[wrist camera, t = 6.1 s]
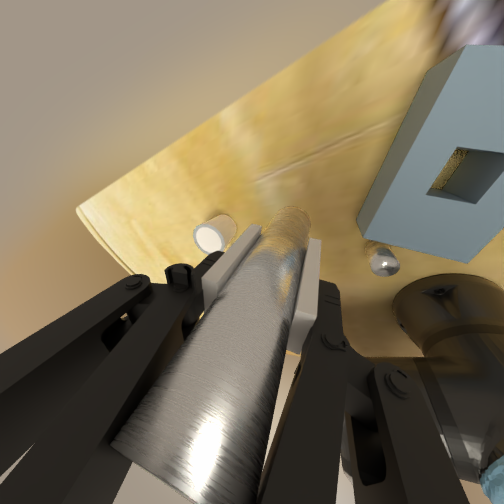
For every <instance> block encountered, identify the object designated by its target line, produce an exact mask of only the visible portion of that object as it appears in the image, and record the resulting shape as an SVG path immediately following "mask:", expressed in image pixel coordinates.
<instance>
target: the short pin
mask: <svg viewBox="0 0 504 504" xmlns="http://www.w3.org/2000/svg"><path fill="white" fill-rule="evenodd" d="M364 249H365V252H366V255H367V258H368V261H369V264H370V267H371V270H372V272H373V273H374V274H376V275H378V276H382V277H387V276H391V275H394V274H395V273H397V272H398V270H399V269H400V263H399V261H398V260H397V258H396V256H395V255H394V253H393V251H392V250H391V248H390V246H389V245H388V244H386V243H382V242H378V241H374V240H370V241H369V242H367V243H366V245H365V248H364Z"/></svg>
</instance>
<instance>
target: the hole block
mask: <svg viewBox="0 0 504 504" xmlns="http://www.w3.org/2000/svg"><path fill="white" fill-rule="evenodd" d="M455 149H459V150H467V151H469V152H468V153H467V155H466V156H465V157H464V159H463V160H462V162H461V163H460V165H459V166H458V167H457V169H456V170H455V172H454V173H453V175H452V176H451V177H450V179H449V180H448V182H447V183H446V185H445V186H444V187H443V189H442V190H441V189H435V188H430V187H431V186H432V184H433V183H434V181H435V180H436V178H437V177H438V175H439V174H440V172H441V170H442V169H443V167H444V166H445V164H446V163H447V161H448V160H449V158H450V157H451V155H452V154H453V152H454V151H455ZM356 221H357V224H358V226H359V229H360V232H361V234H362V237H363V238H365V239H369V240H374V241H378V242H382V243H386V244H390V245H394V246H398V247H402V248H406V249H410V250H414V251H418V252H422V253H426V254H430V255H434V256H438V257H442V258H446V259H451V260H455V261H459V262H463V263H467V264H468V263H469V262H470V261H471V260H472V259H473V258H474V257H475V256H476V255H477V254H478V253H479V252H480V251H481V250H482V249H483V248H484V247H485V246H486V245H487V244H488V243H489V242H490V241H491V240H492V239H493V238H494V237H495V236H496V235H497V234H498V233H499V232H500V231H501V230H502V229H503V228H504V46H493V45H465V46H464V47H462V48H461V49H459V50H458V51H456V52H455V53H453V54H452V55H450V56H449V57H448V58H446V59H445V60H443V61H442V62H440V63H439V64H437V65H436V66H434V67H433V68H431V69H430V70H428V71H427V73H426V75H425V77H424V79H423V81H422V83H421V85H420V87H419V90H418V92H417V94H416V96H415V98H414V100H413V102H412V104H411V106H410V108H409V110H408V112H407V114H406V117H405V119H404V121H403V123H402V125H401V127H400V129H399V131H398V133H397V135H396V137H395V139H394V142H393V144H392V146H391V148H390V150H389V152H388V154H387V156H386V158H385V160H384V162H383V164H382V167H381V169H380V171H379V173H378V175H377V177H376V179H375V181H374V183H373V185H372V187H371V189H370V192H369V194H368V196H367V198H366V200H365V202H364V204H363V206H362V208H361V210H360V212H359V214H358V217H357V219H356Z"/></svg>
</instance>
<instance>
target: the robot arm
mask: <svg viewBox="0 0 504 504" xmlns="http://www.w3.org/2000/svg"><path fill="white" fill-rule="evenodd" d="M261 228H262V226H260V225H255V224H251V225H250V226H249V227H248V228H247V229H246V231H245V232H244V233H243V234H242V235H241V236H240V237H239V238H238V239H237V240H236V241H235V242H234V243H233V244H232V246H231V247H230V248H229V249H228V250H227V251H226V252H221V251H218V250H217V251H215V252H213V253H210V254H209V255H208V256H207V257H206V258H205V259H204V260H203V261H202V262H201V263H200V264H199V265H198V266H196V267H195V268H193V267H192V266H191V265H188V264H182V263H180V264H174V265H171V266H169V267H168V268H166V269H165V275H166V279H167V284H158V283H151V282H150V278H149V277H148V276H147V275H143V274H135V275H131V276H129V277H126V278H124V279H122V280H120V281H119V282H117V283H116V284H114V285H112V286H111V287H109V288H107V289H106V290H104V291H102V292H101V293H99V294H98V295H96V296H94V297H93V298H91V299H90V300H88V301H86V302H84V303H83V304H81V305H80V306H78V307H77V308H75V309H73V310H72V311H70V312H68V313H67V314H65V315H63V316H62V317H60V318H58V319H57V320H55V321H54V322H52V323H50V324H49V325H47V326H45V327H44V328H42V329H40V330H39V331H37V332H36V333H34V334H32V335H31V336H29V337H27V338H26V339H24V340H22V341H21V342H19V343H18V344H16V345H14V346H13V347H11V348H9V349H8V350H6V351H4V352H3V353H1V354H0V476H1V475H2V474H3V473H4V472H5V471H6V470H8V468H10V467H11V465H13V464H14V463H15V462H16V460H18V459H19V458H20V457H21V456H22V455H23V454H24V453H25V452H26V451H27V450H28V449H29V448H30V447H31V446H32V445H33V444H34V443H35V444H34V445H33V446H32V447H31V449H30V450H29V451H28V452H27V453H26V454H25V456H24V457H23V458H22V459H21V460H20V462H19V463H18V464H17V465H16V467H15V468H14V469H13V470H12V471H11V472H10V474H9V475H8V476H7V477H6V479H5V480H4V481H3V482H2V483H1V484H0V504H112V503H113V501H114V499H115V497H116V495H117V493H118V491H119V489H120V487H121V485H122V483H123V481H124V479H125V477H126V474H127V472H128V470H129V468H130V466H131V464H132V461H131V460H129V459H128V458H127V457H125V456H124V455H122V454H121V453H120V452H118V451H117V450H116V449H114V448H113V447H112V446H110V444H111V442H112V441H113V440H114V438H115V437H116V435H117V434H118V433H119V431H120V430H121V428H122V427H123V426H124V424H125V423H126V422H127V420H128V419H129V417H130V416H131V415H132V413H133V412H134V410H135V409H136V408H137V406H138V405H139V403H140V402H141V401H142V399H143V398H144V397H145V395H146V394H147V392H148V391H149V390H150V388H151V387H152V385H153V384H154V383H155V381H156V380H157V378H158V377H159V376H160V374H161V373H162V372H163V370H164V369H165V367H166V366H167V365H168V363H169V362H170V360H171V359H172V358H173V356H174V355H175V353H176V352H177V351H178V349H179V348H180V347H181V345H182V344H183V342H184V341H185V340H186V338H187V337H188V335H189V334H190V333H191V331H192V330H193V329H194V327H195V326H196V324H197V323H198V322H199V320H200V319H199V317H200V315H201V314H202V312H203V311H204V313H205V312H206V310H207V309H208V308H209V306H210V305H211V304H212V302H213V301H214V299H215V298H216V297H217V295H218V294H219V292H220V291H221V290H222V288H223V287H224V285H225V284H226V283H227V281H228V280H229V279H230V277H231V276H232V274H233V273H234V272H235V270H236V269H237V267H238V266H239V265H240V263H241V262H242V260H243V259H244V258H245V256H246V255H247V254H248V252H249V251H250V249H251V248H252V247H253V245H254V244H255V242H256V241H257V240H258V238H259V237H260V235H261ZM320 255H321V240H318V239H314V238H310V239H309V242H308V245H307V249H306V252H305V257H304V262H303V267H302V272H301V278H300V283H299V288H298V293H297V298H296V303H295V308H294V313H293V318H292V323H291V328H290V333H289V338H288V344H287V349H286V350H289V351H291V352H294V353H296V354H300V352H301V360H300V362H299V364H298V366H297V368H296V370H295V372H294V374H295V375H294V378H293V381H292V384H291V387H290V390H289V393H288V396H287V399H286V402H285V405H284V408H283V412H282V414H281V417H280V420H279V423H278V426H277V429H276V433H275V435H274V438H273V442H272V444H271V447H270V450H269V453H268V456H267V460H266V463H265V465H264V468H263V471H262V475H261V480H260V485H259V490H258V495H257V500H256V504H336V494H337V483H338V474H339V463H340V453H341V459H342V467H343V471H344V474H345V475H346V477H347V478H348V479H349V481H350V482H351V483H352V485H353V488H354V496H355V504H470V503H469V501H468V498H467V496H466V494H465V492H464V490H463V487H462V485H461V483H460V480H459V479H462V480H466V481H470V482H473V483H477V484H480V485H481V488H482V490H483V492H484V494H485V495H486V496H487V497H488V498H489V499H490V501H491V502H492V504H504V290H503V289H502V288H500V287H499V286H498V285H496V284H495V283H493V282H491V281H489V280H486V279H484V278H480V277H477V276H472V275H464V274H445V275H437V276H432V277H428V278H424V279H421V280H418V281H416V282H414V283H412V284H410V285H408V286H407V287H405V288H404V289H402V290H401V291H400V292H399V293H398V294H397V296H396V297H395V299H394V301H393V306H392V309H393V313H394V316H395V318H396V321H397V323H398V325H399V326H400V327H401V329H402V330H403V331H404V332H405V333H406V334H407V335H408V336H409V337H410V339H411V340H412V341H413V342H414V343H415V344H416V345H417V346H418V347H419V349H420V350H421V351H422V353H423V355H424V357H413V358H412V357H363V356H361V355H360V354H359V353H357V352H356V351H355V350H354V349H353V348H352V347H351V346H350V344H349V342H348V340H347V338H346V337H345V336H344V334H343V327H342V315H341V307H340V306H341V303H340V291H339V290H338V288H337V286H336V285H335V284H334V283H330V282H327V281H323V280H320V279H319V272H320ZM125 313H127V315H128V316H126V317H124V318H120V317H121V316H123V315H124V314H125ZM301 350H302V351H301Z"/></svg>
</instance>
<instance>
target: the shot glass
mask: <svg viewBox="0 0 504 504" xmlns="http://www.w3.org/2000/svg"><path fill="white" fill-rule="evenodd" d="M236 230H237V228H236V224H235V222H234V220H233V219H232V218H231V217H229V216H227V215H218V216H216V217H214V218H212V219H210V220H208V221H206V222H204V223H202V224H200V225H198V226H196V228H195V229H194V232H193V238H194V241H195V243H196V245H197V246H198V248H199V249H200V250H201V251H202V252H204V253H206V254H208V255H209V254H210V253H213V252H215V251H217V250H218V251H221V252H223V251H224V249H225V248H226V247H227V245H228V244H229V242H230V241H231V240H232V238H233V237H234V235H235V234H236Z"/></svg>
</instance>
